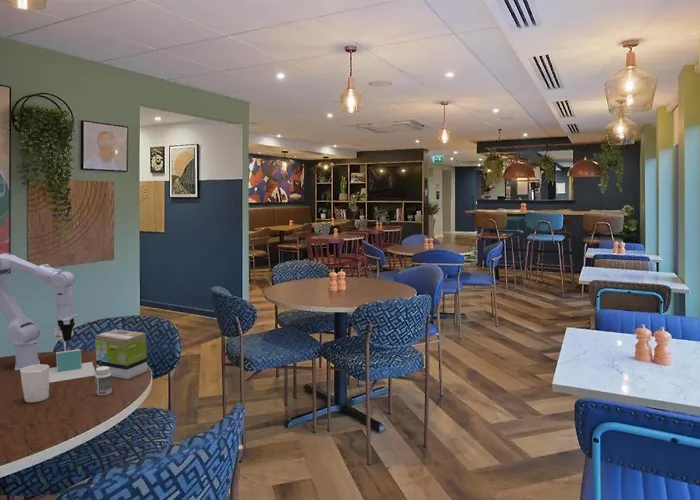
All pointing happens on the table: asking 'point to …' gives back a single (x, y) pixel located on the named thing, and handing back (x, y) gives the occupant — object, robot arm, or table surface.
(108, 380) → the pill bottle
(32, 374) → the white cup
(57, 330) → the wineglass
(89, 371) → the mat
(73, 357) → the tile
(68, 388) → the table surface
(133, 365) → the tea box
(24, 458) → the table surface
